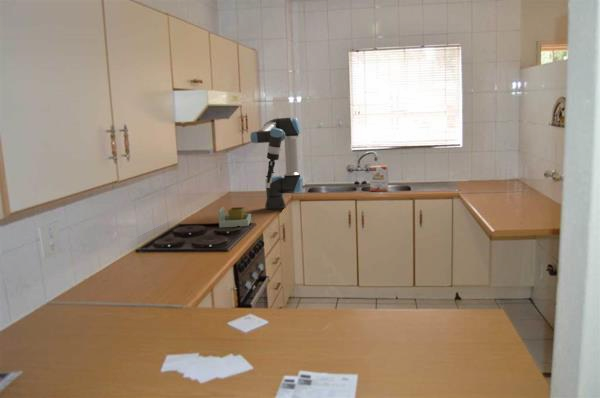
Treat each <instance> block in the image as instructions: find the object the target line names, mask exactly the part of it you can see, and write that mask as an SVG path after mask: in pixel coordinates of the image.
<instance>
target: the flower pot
mask: <svg viewBox="0 0 600 398" xmlns="http://www.w3.org/2000/svg"><path fill="white" fill-rule="evenodd" d="M227 213H228V215H229V217H230V220H243V218H244V214H245V207H244V206H241V207H237V206H235V207H231V208H229V209H228V210H227Z"/></svg>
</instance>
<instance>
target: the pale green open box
mask: <svg viewBox="0 0 600 398" xmlns="http://www.w3.org/2000/svg"><path fill="white" fill-rule="evenodd" d="M217 212H218V213H217V214H218V220H219V221H218V227H219V229H221V228H234V227H235V228H237V226H240V227H249V225H250V223H251V222H252V214H251V213H244V218H243V220H230V217H229V214H226V210H225V206H222V207H221V208H220V209H219V210H218V211H217Z"/></svg>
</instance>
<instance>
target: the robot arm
mask: <svg viewBox="0 0 600 398" xmlns="http://www.w3.org/2000/svg"><path fill="white" fill-rule="evenodd" d="M299 134H301V124H300V121H299V119H298V118H297V117H282V118H278V117H277V118H274V119H273V118H272V119H271V120H268V121H266V122H265V123H264V124H263V126H262V127H261V128H260V129H259V130H258V131H252V132H251V133H250V137H249V138H250V142H251V143H252V144H264V143H265V144H267V143H268V147H267V154H266V158H267V159H268V160H269V161H268V167H267V168H268V169H267V175H266V176H265V178H266V179H265V192H266V200H265V203H264V208H265V210H268V211H269V210H270V211H276V210H283V209H286V207H287V205H286V203H285V200H284V197H283V195H284V194H285V195H286V194H300V193H301V192H302V189H303V181H304V180H303V177H302V176H301V173H299V165H298V163H299V162H298V148H297V146H298V145H297V144H298V143H297V139H298V137H299ZM282 142H284V157H285V159H284V160H285V161H284V162H285V173H284V175H283V177H282V175H275V176H274V174H275V171H274V169H275V165H276V162H275V161H278V160H279V158H280V152H281V150H282V149H281V144H282Z"/></svg>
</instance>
